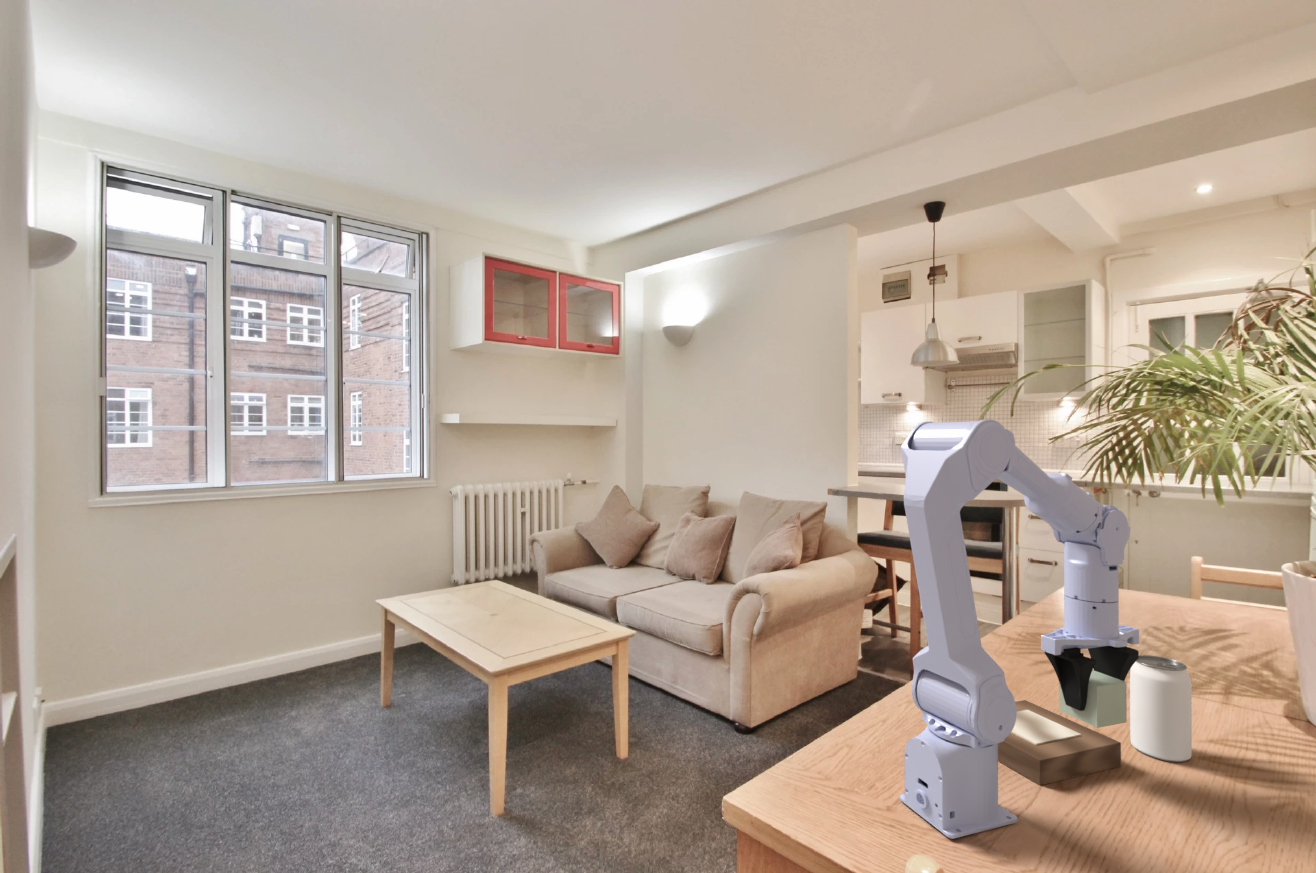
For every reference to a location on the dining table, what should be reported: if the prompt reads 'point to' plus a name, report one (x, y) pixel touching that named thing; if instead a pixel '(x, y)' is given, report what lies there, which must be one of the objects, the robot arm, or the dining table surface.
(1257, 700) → the dining table surface
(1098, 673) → the cube
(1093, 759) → the base
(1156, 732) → the can
